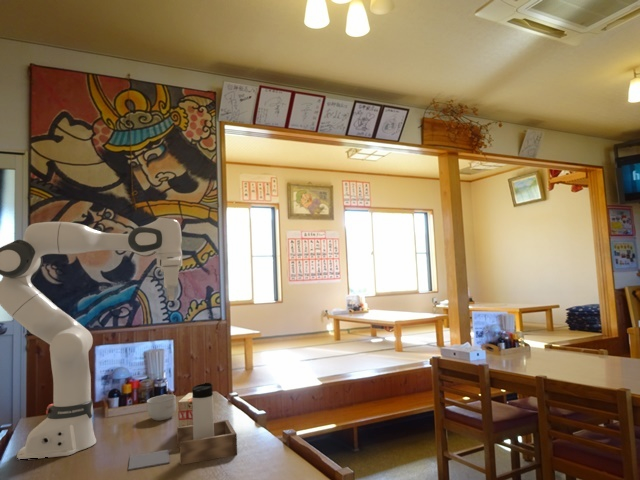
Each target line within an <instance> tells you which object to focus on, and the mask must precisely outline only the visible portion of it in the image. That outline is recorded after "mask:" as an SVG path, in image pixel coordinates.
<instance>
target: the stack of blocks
mask: <svg viewBox="0 0 640 480" xmlns="http://www.w3.org/2000/svg"><path fill="white" fill-rule="evenodd" d="M192 395H193V393H192V392H188V393H187V394H186V395H185V396H184V397H182V398H181V399H180V400H178V402H177V405H178V406H177V408H178V410H177V411H178V412H177V413H178V419H177V420H178V427H183V426H189V425H193V404H192V399H193V398H192V397H193V396H192Z"/></svg>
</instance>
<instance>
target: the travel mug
mask: <svg viewBox="0 0 640 480" xmlns="http://www.w3.org/2000/svg"><path fill="white" fill-rule="evenodd" d="M213 391H214V389H213V384H212V383H211V382H204V383H200V384H197V385H195V386H193V387H192V392H191V393H193V395H192V396H193V397H192V398H193V399H192V404H193V440H194V439H201V438H207V437H213V436H214V422H215V420H214V393H213Z"/></svg>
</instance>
